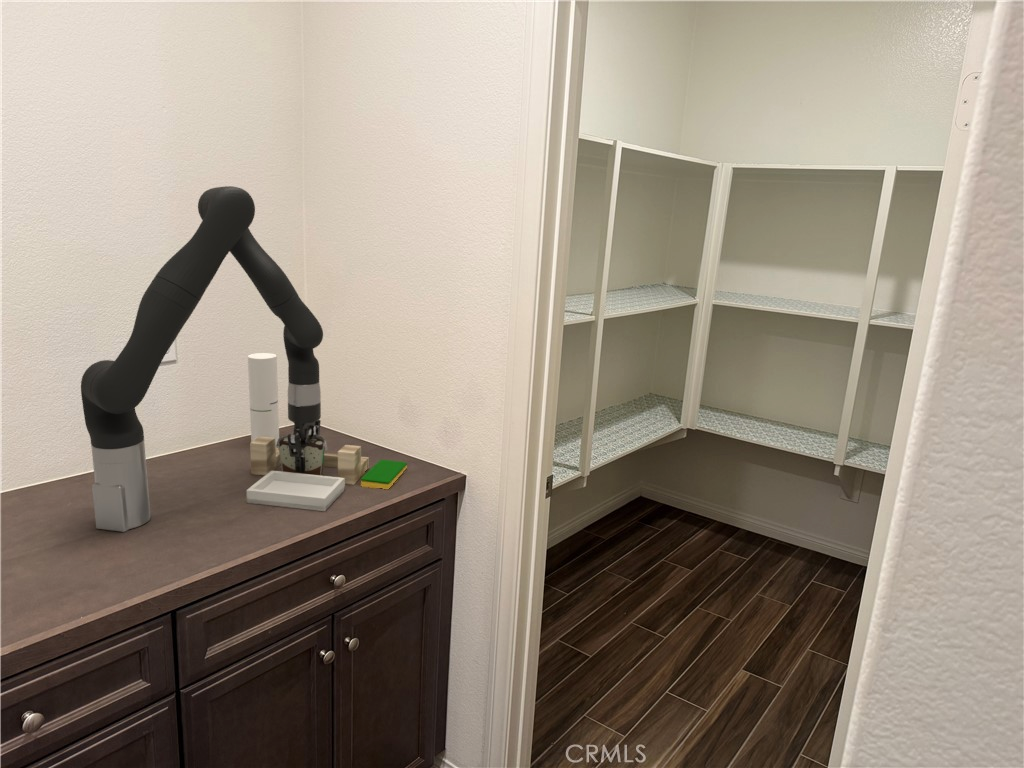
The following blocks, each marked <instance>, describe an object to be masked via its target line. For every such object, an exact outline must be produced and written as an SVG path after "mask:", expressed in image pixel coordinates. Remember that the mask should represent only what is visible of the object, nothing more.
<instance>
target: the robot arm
mask: <svg viewBox="0 0 1024 768" xmlns="http://www.w3.org/2000/svg"><path fill="white" fill-rule="evenodd" d="M197 210H198V214H199V216H200V219H201V220H202V221H201V222H200V224H199V226H198V227H197V229H196V230H195V232H194V234H193V235H192V237H191V238H190V239H189V240H188V241H187V242H186V244H184V245H183V246H182V247H181V248H180V249H179V250H178V251H177V252H176V253H174V254H173V255H172V256H171V258H169V259H168V260H167V261H166V263H164V264H163V266H162V267H161V268H160V269H159V270H158V271H157V273H156V274H155V276H154V278H153V279H152V281H151V282H150V283H149V285H148V287H147V289H146V290H145V292H144V294H143V295H142V297H141V299H140V302H139V304H138V309H137V313H136V316H135V320H134V325H133V328H132V332H131V335H130V337H129V339H128V340H127V342H126V344H125V345H124V347H123V349H122V350H121V351H120V353H119V354H118V356H117V357H116V358H115V359H114V360H111V359H106V360H105V359H104V360H98V361H96V362H94V363H92V364H91V365H89V366H88V367H87V368H86V369H85V371H84V372H83V374H82V378H81V381H80V393H81V395H80V396H81V401H82V403H81V404H82V410H83V417H84V422H85V427H86V431H87V433H88V434H89V438H90V444H91V445H90V446H91V456H92V466H93V467H92V468H93V475H94V476H93V477H94V483H93V484H91V488H92V489H91V490H92V498H93V507H94V517H95V518H94V519H95V526H96V527H95V528H96V529H98V530H107V531H113V532H121V533H122V532H123V533H125V532H127V531H129V530H130V529H135V528H138V527H140V526H141V527H142V525H145V524H146V523H147V522H149V521H150V520H151V505H150V504H151V503H150V494H149V493H150V492H149V482H148V472H147V460H146V459H147V458H146V446H145V445H146V444H145V435H144V426H143V425H142V424H141V422H140V419H139V417H138V415H137V412H136V408H137V407H138V406H139V404H141V402H142V401H143V399H144V397H146V394H147V392H148V390H149V388H150V386H151V385H152V382H153V379H154V378H155V376H156V373H157V372H158V369H159V367H160V365H161V363H162V362H163V359H164V357H166V354H167V353H168V352H169V349H170V348H171V346H172V345H173V343H174V342H175V340H176V338H177V337H178V336H179V334H180V332H181V330H182V329H183V327H184V326H185V324H186V323H187V321H188V320H189V319H190V317H191V315H192V314H193V312H194V311H195V309H196V307H197V306H198V304H199V303H200V301H201V299H202V298H203V295H205V292H206V290H207V289H208V287H209V286H210V284H211V283H212V281H213V279H214V278H215V276H216V274H217V272H218V270H219V268H220V267H221V265H222V263H223V262H224V260H225V258H226V257H227V255H228V254H229V253H230V254H231V255H232V256H233V258H234V259H235V260H236V261H237V263H238V264H239V265H240V267H241V268H242V269H243V271H244V272H245V273H246V274H247V276H248V278H249V279H250V281H251V282H252V283H253V286H254V287H255V289H256V290H257V291H258V293H259V294H260V296H261V298H262V300H263V301H264V303H265V304H266V306H268V308H269V309H270V311H271V313H273V314H274V316H276V317H277V318H278V319H280V321H281V322H282V323H283V325H284V327H283V335H282V336H283V343H284V344H283V345H284V349H285V355H286V358H287V365H288V367H287V369H288V372H287V373H288V377H287V378H288V385H287V418H288V421H290V422H292V423H293V424H294V426H293V432H292V433H288V434H287V435H288V445H289V452H290V457H295V470H296V471H297V472H304V471H305V451H306V448H307V447H308V443H309V440H311V438H312V439H315V438H316V435H319V436H321V434H320V433H321V422H322V421H321V420H320V419H321V416H322V414H321V413H322V412H321V411H322V408H321V407H322V406H321V404H322V403H321V402H322V401H321V399H322V396H321V393H322V392H321V385H320V364H319V360H318V359H317V358H316V356H315V353H314V349H316V348H317V347H318V346H320V344H321V343H322V341H323V339H324V331H323V328H322V325H321V324H320V322H319V320H318V319H317V317H316V315H315V314H314V313H313V312H312V311H311V310H310V309H309V307H308V306H307V305H306V304H305V303H304V301H302V299H301V297H300V295H299V294H298V292H297V290H296V289H295V287H294V286H293V284H292V282H291V281H290V279H289V277H288V276H287V275H286V273H285V272H284V271H283V269H282V268H281V267H280V265H278V263H277V262H275V260H274V259H273V258H272V257H271V256H270V255H269V254H268V252H267V251H265V250H264V248H263V246H261V245H260V243H259V242H258V240H256V238H255V237H254V235H253V232H251V230H250V229H249V227H251V224H252V223H253V221H254V217H255V214H256V206H255V201H254V199H253V197H252V196H251V194H250V193H249V192H248V191H247V190H245V189H243V188H241V187H238V186H226V185H225V186H217V187H213V188H209V189H207V190H205V191H204V192H203V193H201V195H200V197H199V199H198V203H197ZM300 442H305V443H304V444H301V443H300ZM301 447H302V451H301ZM293 449H294V450H293Z"/></svg>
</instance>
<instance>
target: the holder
mask: <svg viewBox="0 0 1024 768" xmlns="http://www.w3.org/2000/svg"><path fill="white" fill-rule="evenodd" d="M249 445H250V446H249V448H250V451H249V452H250V469H251V470H250V471H251V472H250V473H251V475H258V476H265V475H267V474H268V473H269V472H270V471H276V469H278V467H281V460H280V453H279V447H277V448H276V444H275V438H270V437H258V438H257V439H255V440H254V441H252V442H249ZM369 462H370V458H369V457H367V456H362V446H361V445H352V444H351V445H350V444H344V445H343V446H342V447H340V449H339V450H338V451H337V453H328V452H327V453H326V452H324V462H323V467H325V468H326V467H327V468H335V469H337V477H340V478H345V485H353V486H354V485H355V484H356V483H357V482H358V481H359V480H361V478H362V477H363V476H364V475H365V474H366V472H367V471H368V470H369V469H370V465H369V464H370V463H369ZM368 468H369V469H368ZM367 469H368V470H367ZM366 470H367V471H366ZM365 471H366V472H365ZM361 476H362V477H361ZM360 477H361V478H360Z"/></svg>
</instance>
